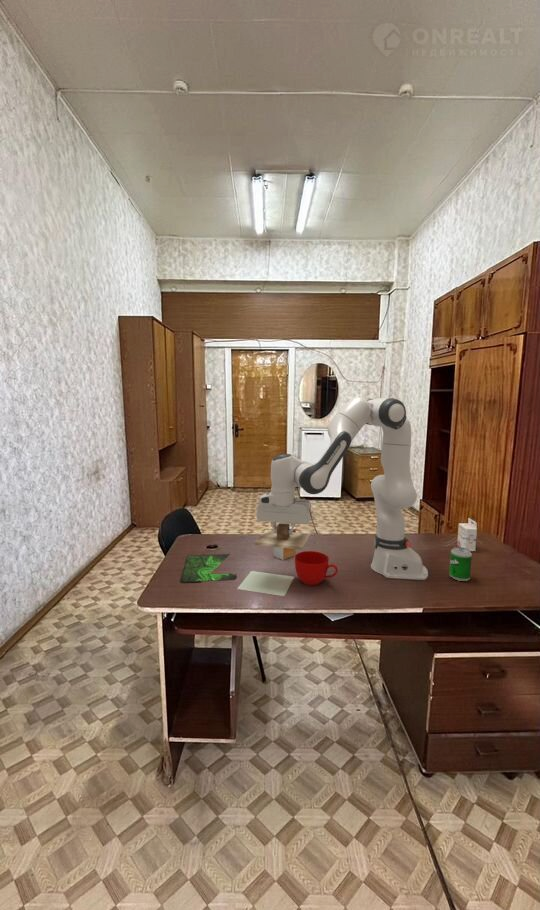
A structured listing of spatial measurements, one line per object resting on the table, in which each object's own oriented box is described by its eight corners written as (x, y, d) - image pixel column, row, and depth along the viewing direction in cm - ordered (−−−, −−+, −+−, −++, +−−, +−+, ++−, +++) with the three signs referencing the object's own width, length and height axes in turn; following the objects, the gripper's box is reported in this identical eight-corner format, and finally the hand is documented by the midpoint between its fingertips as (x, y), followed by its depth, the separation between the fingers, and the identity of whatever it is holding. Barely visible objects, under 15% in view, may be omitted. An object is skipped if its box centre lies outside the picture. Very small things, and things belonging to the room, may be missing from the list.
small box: (283, 560, 167) (283, 532, 165) (273, 556, 172) (273, 528, 170) (295, 555, 173) (296, 528, 171) (285, 551, 177) (286, 524, 175)
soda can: (468, 576, 153) (470, 547, 152) (471, 584, 146) (473, 554, 145) (447, 573, 156) (449, 545, 154) (450, 581, 149) (452, 551, 147)
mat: (294, 577, 150) (294, 576, 150) (284, 597, 135) (284, 596, 135) (251, 571, 155) (251, 570, 155) (237, 589, 140) (237, 588, 140)
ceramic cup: (330, 596, 136) (331, 569, 135) (288, 584, 145) (289, 559, 143) (342, 581, 148) (343, 557, 146) (302, 572, 156) (303, 548, 154)
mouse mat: (186, 556, 172) (186, 554, 172) (235, 554, 174) (235, 552, 174) (179, 584, 145) (179, 581, 145) (237, 581, 147) (237, 579, 147)
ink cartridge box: (456, 546, 186) (458, 517, 184) (466, 546, 186) (468, 517, 184) (464, 552, 178) (467, 522, 176) (475, 553, 178) (478, 522, 176)
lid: (310, 536, 148) (310, 521, 147) (303, 549, 134) (303, 533, 134) (265, 532, 153) (265, 517, 152) (254, 544, 139) (254, 529, 139)
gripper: (311, 497, 141) (312, 532, 143) (259, 494, 147) (260, 528, 149) (308, 501, 135) (309, 538, 137) (254, 498, 141) (255, 534, 143)
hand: (283, 533), depth 143 cm, fingers closed on lid, 4 cm apart
